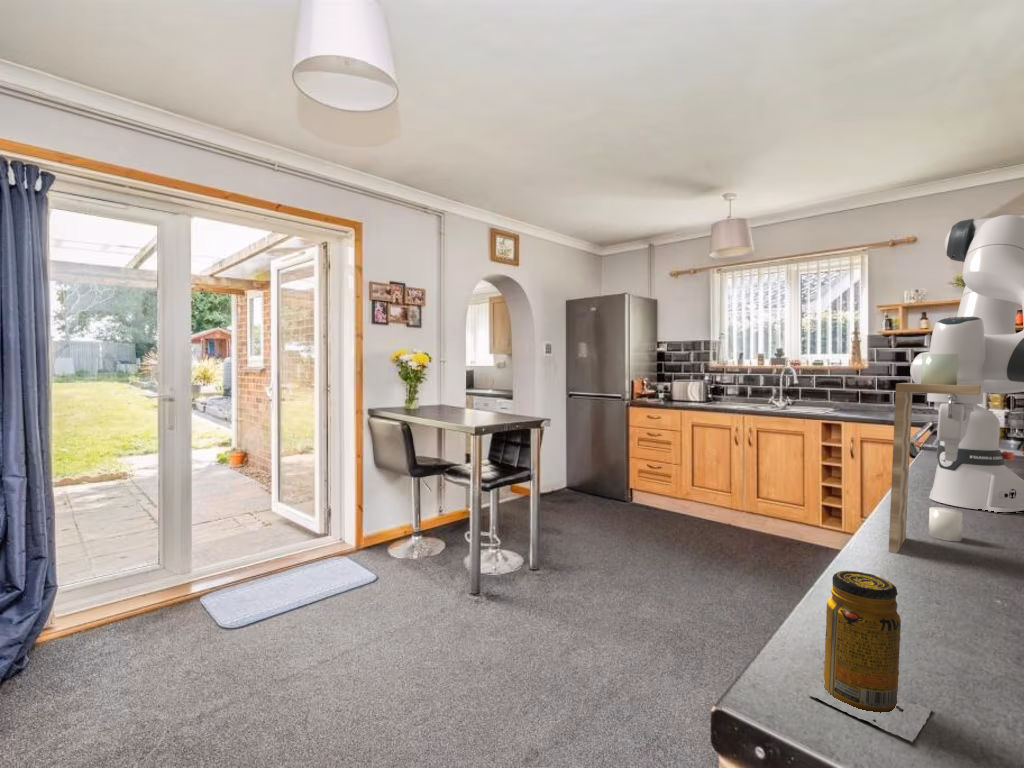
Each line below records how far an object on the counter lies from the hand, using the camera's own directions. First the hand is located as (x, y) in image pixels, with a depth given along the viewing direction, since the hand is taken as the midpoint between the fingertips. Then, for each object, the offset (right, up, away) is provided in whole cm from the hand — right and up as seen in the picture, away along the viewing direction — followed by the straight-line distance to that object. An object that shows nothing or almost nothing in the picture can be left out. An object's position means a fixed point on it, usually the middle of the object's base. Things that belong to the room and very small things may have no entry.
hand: (950, 460), depth 107 cm
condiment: (-57, -15, -57) cm, 82 cm away
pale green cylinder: (-15, +16, -15) cm, 26 cm away
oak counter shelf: (-15, -15, -14) cm, 25 cm away
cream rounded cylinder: (-6, -15, -5) cm, 17 cm away
